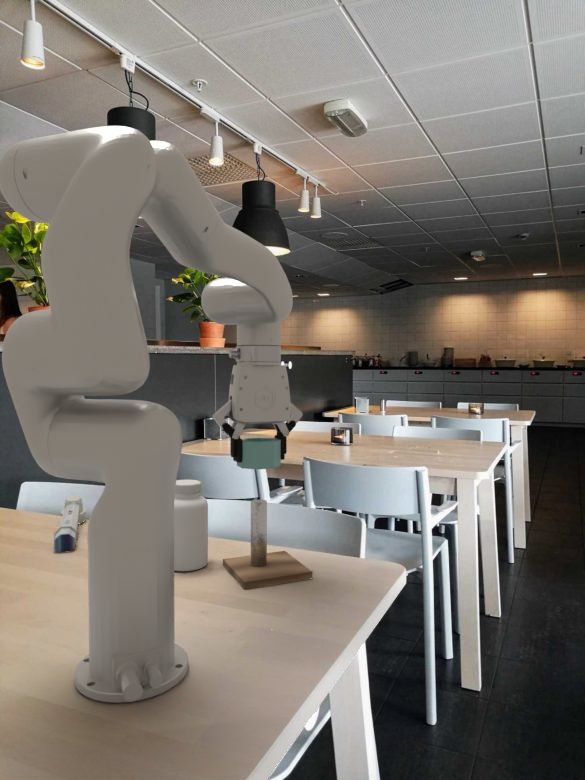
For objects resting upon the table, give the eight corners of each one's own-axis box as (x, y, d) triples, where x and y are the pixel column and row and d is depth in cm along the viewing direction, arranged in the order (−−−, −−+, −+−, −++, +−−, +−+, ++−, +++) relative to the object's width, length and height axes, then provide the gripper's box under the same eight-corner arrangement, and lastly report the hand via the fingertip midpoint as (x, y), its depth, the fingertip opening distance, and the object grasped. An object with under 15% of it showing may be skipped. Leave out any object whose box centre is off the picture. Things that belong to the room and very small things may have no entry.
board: (312, 578, 97) (312, 571, 97) (244, 589, 92) (244, 582, 92) (284, 557, 108) (284, 550, 108) (222, 565, 103) (222, 559, 103)
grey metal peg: (269, 565, 100) (269, 502, 100) (253, 567, 99) (253, 503, 98) (263, 560, 103) (263, 499, 102) (248, 562, 101) (248, 500, 101)
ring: (285, 467, 98) (285, 441, 98) (246, 470, 95) (246, 443, 95) (270, 461, 105) (270, 436, 104) (233, 463, 102) (233, 438, 102)
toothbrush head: (49, 534, 110) (62, 489, 133) (50, 567, 111) (62, 517, 134) (78, 532, 111) (86, 488, 135) (79, 564, 112) (86, 515, 136)
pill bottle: (216, 561, 106) (216, 479, 105) (191, 575, 98) (190, 488, 98) (180, 555, 109) (180, 476, 108) (153, 568, 102) (153, 484, 101)
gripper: (215, 356, 92) (216, 466, 93) (314, 357, 99) (313, 460, 100) (203, 356, 99) (204, 459, 100) (296, 357, 106) (296, 454, 107)
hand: (258, 459), depth 100 cm, fingers closed on ring, 7 cm apart
